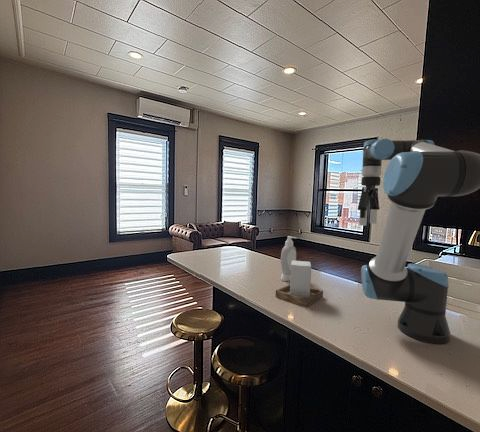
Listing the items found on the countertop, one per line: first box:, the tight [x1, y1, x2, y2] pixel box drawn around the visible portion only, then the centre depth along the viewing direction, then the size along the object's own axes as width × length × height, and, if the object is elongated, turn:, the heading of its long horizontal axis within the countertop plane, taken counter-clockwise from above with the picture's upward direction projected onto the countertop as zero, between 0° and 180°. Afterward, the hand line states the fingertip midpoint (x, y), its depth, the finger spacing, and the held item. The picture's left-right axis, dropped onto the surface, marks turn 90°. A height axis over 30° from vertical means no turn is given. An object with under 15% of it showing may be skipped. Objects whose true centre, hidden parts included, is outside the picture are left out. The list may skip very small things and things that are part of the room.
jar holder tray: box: [275, 284, 324, 308], centre depth 122 cm, size 16×16×3 cm
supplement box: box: [289, 260, 312, 299], centre depth 121 cm, size 9×9×15 cm
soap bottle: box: [280, 235, 298, 282], centre depth 145 cm, size 13×8×24 cm, turn 130°
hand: (368, 224), depth 117 cm, fingers open, 13 cm apart
